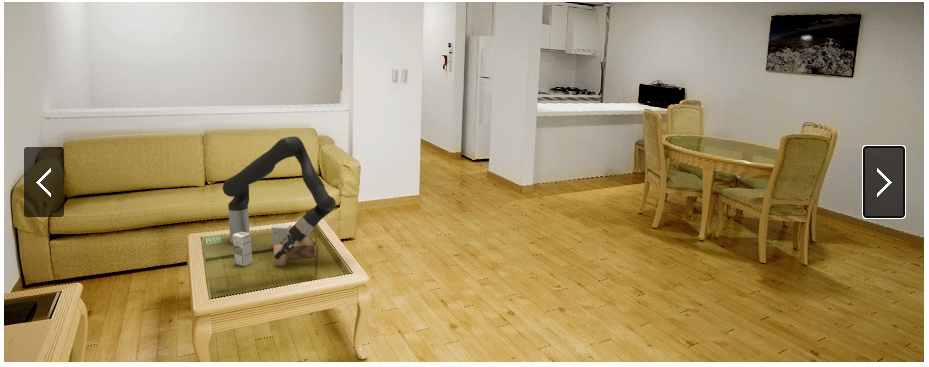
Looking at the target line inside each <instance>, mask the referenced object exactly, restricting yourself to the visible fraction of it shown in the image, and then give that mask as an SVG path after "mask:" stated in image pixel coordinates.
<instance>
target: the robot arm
mask: <svg viewBox="0 0 929 367" xmlns="http://www.w3.org/2000/svg"><path fill="white" fill-rule="evenodd" d="M292 157H294V158H296V160H297V162H298V163H299V165H300V169H301V176H302V180H303V182H304V185H305V186H306V188H307V189H308V190H309V192H310V193H311V195H312V198H313V200H314V202H315V203H316V205H315V206H314V207H313V208H311V209H309V210H308V211H307V212H305V214H304V215H303V216H302V217H301V218H299V219H298V220H297V221H296V223H294V225H292V226H291V229H290V230H289V234H290V235H289V234H288V235H287V236H286V237H285V238H284V239H283V241H282V242H281V243H280V244H283V245H282V248H281V249H280V251H279V252H278V253H277V254H276V255H275V256H274V255H273V259H274V258H276V259H277V260H278V259H279V258H280V257H281V256H282V255H283V254H285V255H287V254H288V252H289V251H290V250H291V249H292V248H293V247H294V244H295V242H296V241H299V242H301V241H302V240H303V239H304V238H305V237H308V235H309V234H310V233H311V232H312V231H313V229H314V228H315V227H316V226H317V225H318V224H319V223H320V221H321V220H322V219H324V218H325V217H326V216H328V214H330V213H331V212H332V211H333V210H334V209H335V207H336V203H337V202H336V200H335V198H334V197H333V196H330V194H329V193H328V191H327V190H326V187H325V184H324V182H323V181H322V179H321V178H320V175H319V174H318V172H317V171H316V169H315V168H314V165H313V163H312V161H311V158H310V156H309V154H308V152H307V148H306V147H305V144H304V142H303V140H302V139H301V138H299V137H298V136H293V135H292V136H286V137H283V138H282V137H281V139H279V140H278V141H277V142H276V143H275V144H274V145H273V146H272V147H270V148H269V150H267V151H266V152H264V153H262V155H259V156H258V157H257V158H256V159H254V160H253V161H252V162H250V164H248V165H247V166H245V167H244V168H243V169H242V170H240V171H239V172H238V173H237V174H235V175H233V176H231V177H229V178H228V179H226V180H225V181H224V182H223V185H222V191H223V193H224V195H226V196H227V197H232V199H231V201H229V202H228V205H227V206H228V207H227V209H228V219H229V224H228V228H229V237H230V238H229V239H230V244H233V235H234V234H236V233H238V232H245V233H250V232H251V231H250V218H249V203H250V185H251V184H254V183H256V182H258V181H260V180H262V179H264V178H266V177H267V176H268V175H270V174H271V173H272V172H273V171H274V170H275V167H276V165H277V164H278V163H280V162H281V161H283V160H286V159H288V158H292ZM250 234H251V233H250ZM284 249H285V251H284Z"/></svg>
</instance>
